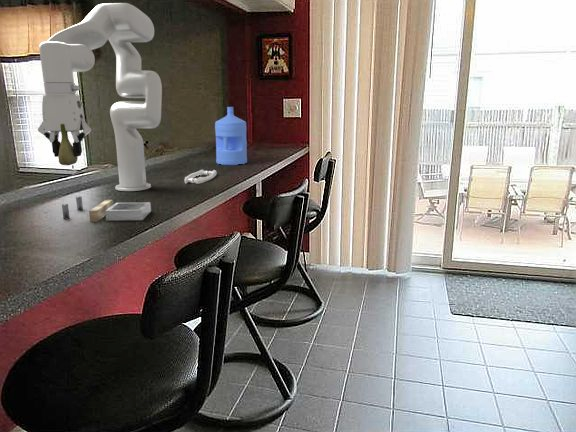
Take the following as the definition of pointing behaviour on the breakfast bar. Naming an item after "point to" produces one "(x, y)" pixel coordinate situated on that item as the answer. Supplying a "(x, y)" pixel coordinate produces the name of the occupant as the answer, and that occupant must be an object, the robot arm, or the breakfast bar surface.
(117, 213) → the frame
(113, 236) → the breakfast bar surface
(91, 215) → the door edge rail
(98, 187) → the breakfast bar surface
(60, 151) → the fennel bulb
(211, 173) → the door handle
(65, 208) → the pegs
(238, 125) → the water jug
